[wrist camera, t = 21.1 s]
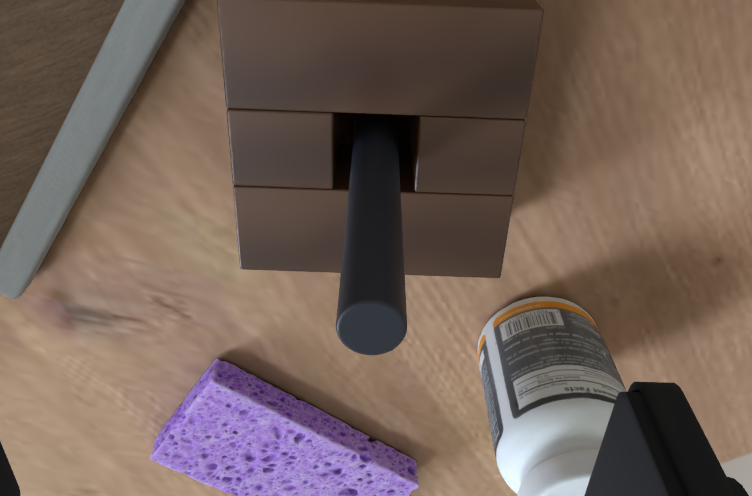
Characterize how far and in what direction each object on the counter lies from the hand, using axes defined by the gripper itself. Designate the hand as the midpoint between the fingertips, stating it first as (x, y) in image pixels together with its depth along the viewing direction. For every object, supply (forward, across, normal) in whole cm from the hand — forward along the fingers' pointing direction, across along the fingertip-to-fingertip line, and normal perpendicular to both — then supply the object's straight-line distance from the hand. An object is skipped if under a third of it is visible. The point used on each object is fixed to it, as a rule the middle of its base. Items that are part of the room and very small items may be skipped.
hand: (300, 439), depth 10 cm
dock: (+18, -1, +2) cm, 18 cm away
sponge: (+18, +3, +21) cm, 27 cm away
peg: (+18, -1, +2) cm, 18 cm away
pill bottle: (+18, -9, +13) cm, 24 cm away
